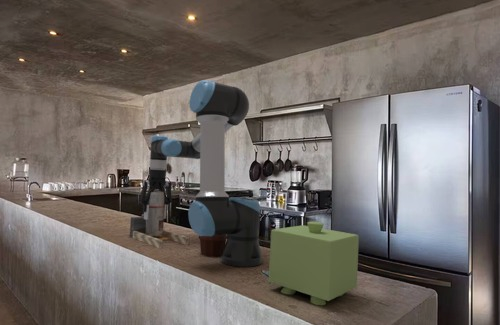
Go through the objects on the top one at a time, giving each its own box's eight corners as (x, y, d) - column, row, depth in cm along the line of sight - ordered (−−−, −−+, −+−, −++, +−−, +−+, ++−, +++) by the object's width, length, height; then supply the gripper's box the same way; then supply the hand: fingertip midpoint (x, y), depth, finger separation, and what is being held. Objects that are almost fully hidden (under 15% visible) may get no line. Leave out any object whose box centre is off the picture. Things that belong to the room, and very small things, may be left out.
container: (356, 295, 97) (359, 224, 97) (327, 310, 85) (331, 229, 85) (299, 278, 109) (302, 216, 110) (267, 289, 97) (271, 219, 98)
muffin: (193, 251, 138) (195, 226, 138) (219, 249, 143) (220, 225, 143) (203, 258, 127) (205, 231, 128) (230, 256, 133) (232, 230, 133)
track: (189, 244, 149) (190, 223, 150) (159, 248, 139) (160, 226, 139) (157, 233, 169) (158, 215, 169) (129, 236, 158) (130, 217, 159)
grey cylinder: (151, 236, 151) (154, 191, 152) (140, 234, 156) (143, 190, 157) (167, 234, 158) (170, 191, 159) (155, 232, 163) (158, 190, 164)
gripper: (173, 170, 168) (170, 216, 167) (132, 168, 153) (129, 218, 153) (181, 170, 163) (178, 218, 162) (140, 168, 148) (137, 221, 147)
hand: (154, 218), depth 157 cm, fingers closed on grey cylinder, 8 cm apart
